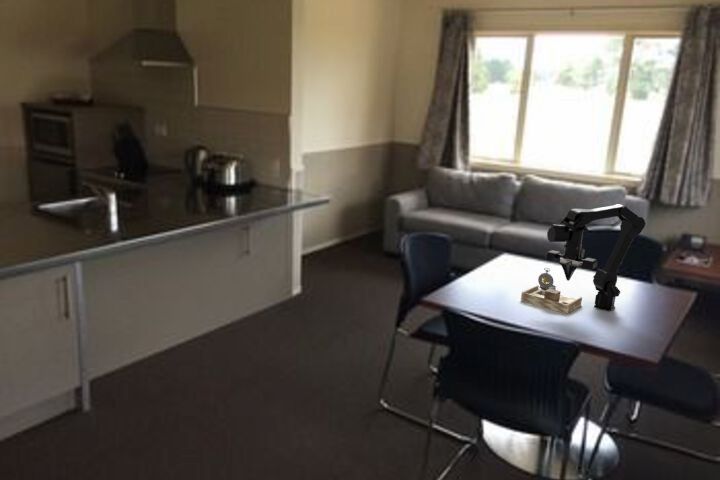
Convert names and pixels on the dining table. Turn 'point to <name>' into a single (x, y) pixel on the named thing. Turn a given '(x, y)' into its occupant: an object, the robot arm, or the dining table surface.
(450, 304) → the dining table surface
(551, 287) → the pocket watch
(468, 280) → the dining table surface
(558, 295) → the block
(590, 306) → the dining table surface
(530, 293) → the trap box
